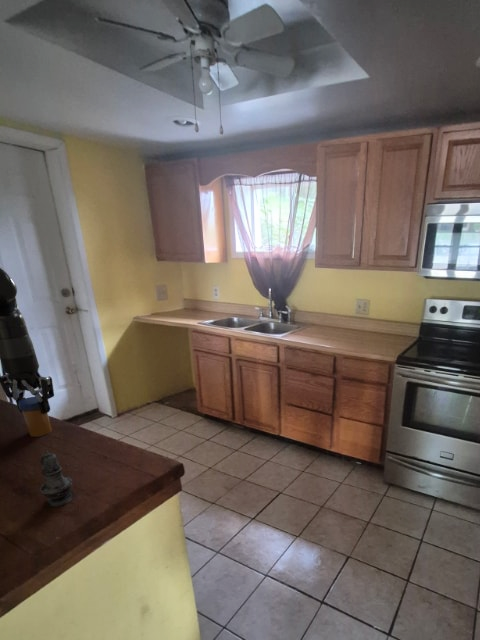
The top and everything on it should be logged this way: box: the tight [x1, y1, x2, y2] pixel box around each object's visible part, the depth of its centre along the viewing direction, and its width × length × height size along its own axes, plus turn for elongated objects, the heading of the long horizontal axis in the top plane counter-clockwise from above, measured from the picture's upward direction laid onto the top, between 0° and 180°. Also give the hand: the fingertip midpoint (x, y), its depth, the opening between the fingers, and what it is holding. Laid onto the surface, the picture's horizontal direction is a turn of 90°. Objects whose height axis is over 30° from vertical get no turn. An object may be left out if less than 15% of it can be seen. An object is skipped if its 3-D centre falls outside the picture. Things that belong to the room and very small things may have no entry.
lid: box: [18, 396, 40, 411], centre depth 101 cm, size 6×6×2 cm
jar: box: [21, 408, 53, 438], centre depth 103 cm, size 5×5×10 cm
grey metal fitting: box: [39, 450, 75, 508], centre depth 77 cm, size 6×6×12 cm
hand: (35, 411), depth 102 cm, fingers closed on lid, 6 cm apart
